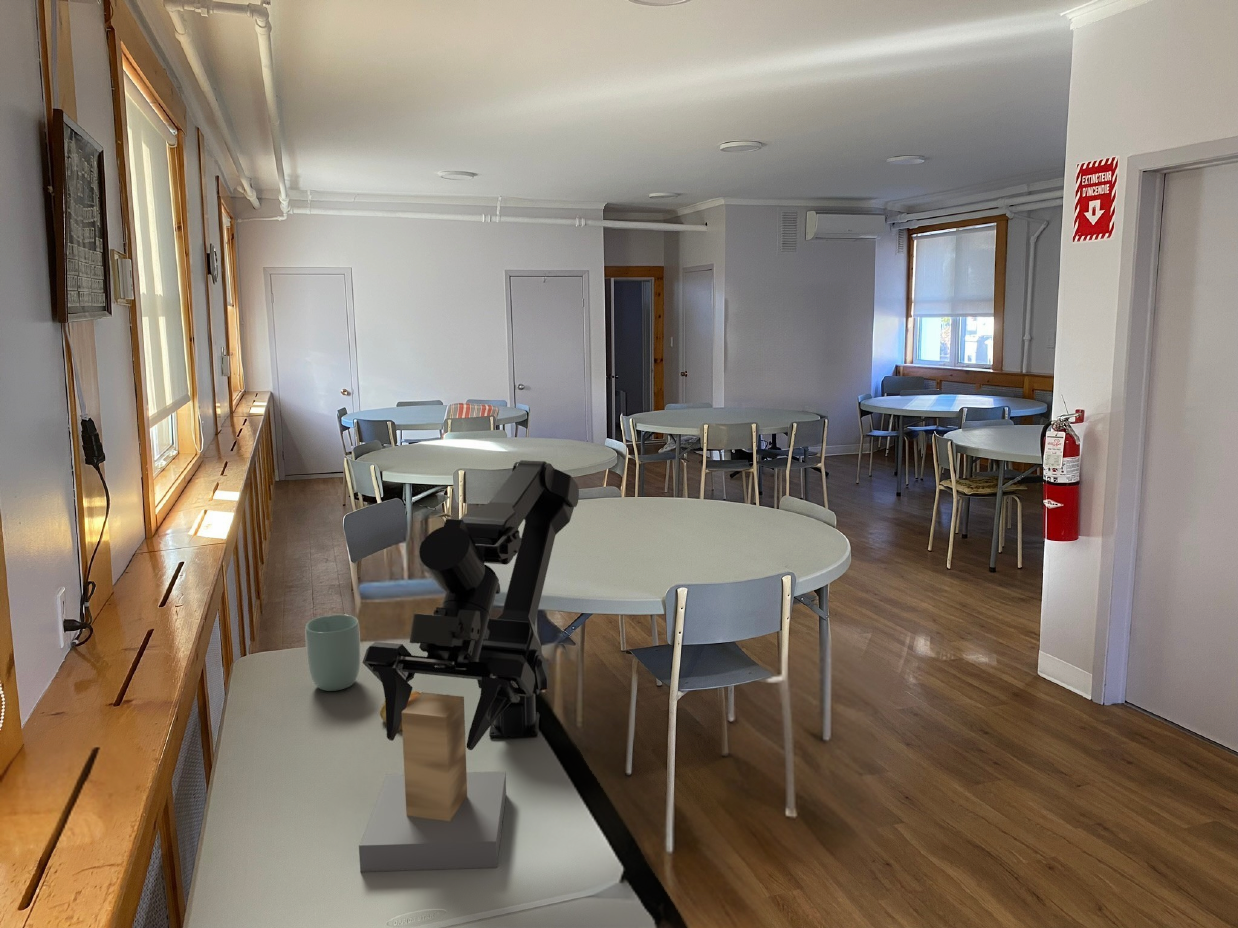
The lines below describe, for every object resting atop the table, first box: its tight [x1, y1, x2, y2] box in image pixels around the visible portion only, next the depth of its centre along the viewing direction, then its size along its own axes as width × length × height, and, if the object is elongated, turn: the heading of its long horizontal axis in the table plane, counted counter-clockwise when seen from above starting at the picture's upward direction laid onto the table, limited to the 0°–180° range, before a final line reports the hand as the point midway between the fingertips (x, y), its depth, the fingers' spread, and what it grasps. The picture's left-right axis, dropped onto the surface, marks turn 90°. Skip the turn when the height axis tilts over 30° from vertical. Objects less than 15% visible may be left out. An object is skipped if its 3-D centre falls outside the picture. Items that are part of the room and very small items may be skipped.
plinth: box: [358, 770, 507, 873], centre depth 101 cm, size 14×14×3 cm
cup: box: [304, 613, 361, 692], centre depth 137 cm, size 8×8×10 cm
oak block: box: [401, 692, 467, 821], centre depth 99 cm, size 5×5×12 cm
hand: (429, 744), depth 97 cm, fingers open, 9 cm apart
